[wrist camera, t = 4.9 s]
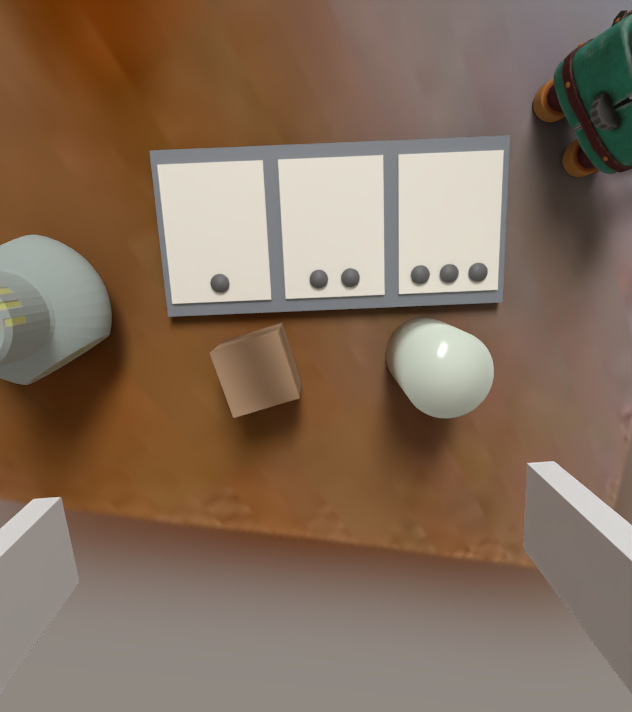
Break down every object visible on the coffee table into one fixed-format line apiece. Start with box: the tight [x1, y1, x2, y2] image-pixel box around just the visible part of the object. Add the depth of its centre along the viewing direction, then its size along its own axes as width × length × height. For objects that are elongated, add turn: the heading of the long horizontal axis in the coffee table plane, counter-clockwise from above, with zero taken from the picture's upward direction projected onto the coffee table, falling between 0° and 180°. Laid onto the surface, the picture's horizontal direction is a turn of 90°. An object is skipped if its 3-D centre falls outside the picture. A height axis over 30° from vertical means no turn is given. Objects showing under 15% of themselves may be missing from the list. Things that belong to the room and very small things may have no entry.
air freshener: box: [0, 235, 112, 385], centre depth 30 cm, size 11×8×10 cm
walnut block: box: [210, 323, 301, 418], centre depth 34 cm, size 5×5×5 cm
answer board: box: [150, 136, 510, 317], centre depth 33 cm, size 26×12×1 cm, turn 92°
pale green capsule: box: [386, 317, 494, 418], centre depth 33 cm, size 6×6×7 cm
